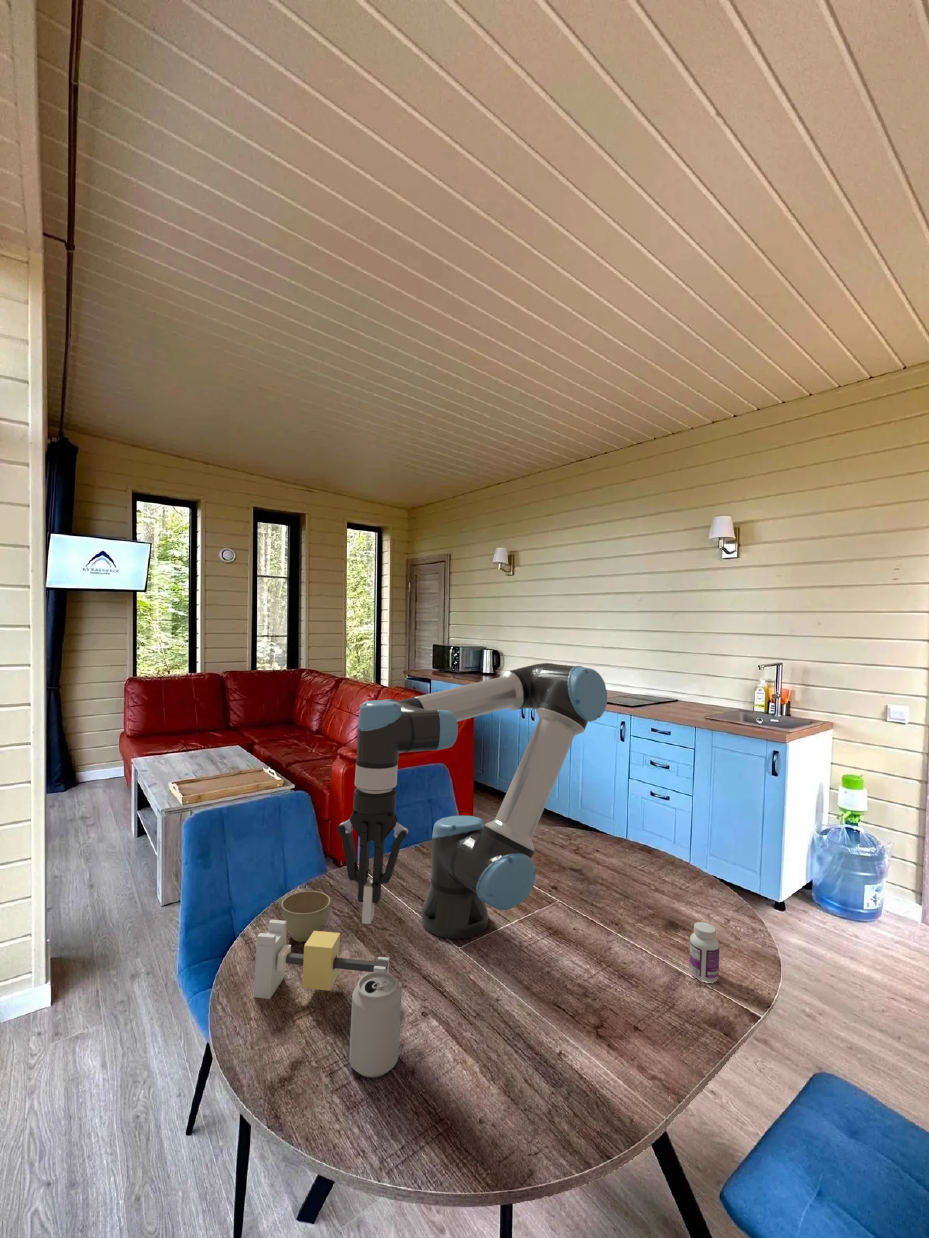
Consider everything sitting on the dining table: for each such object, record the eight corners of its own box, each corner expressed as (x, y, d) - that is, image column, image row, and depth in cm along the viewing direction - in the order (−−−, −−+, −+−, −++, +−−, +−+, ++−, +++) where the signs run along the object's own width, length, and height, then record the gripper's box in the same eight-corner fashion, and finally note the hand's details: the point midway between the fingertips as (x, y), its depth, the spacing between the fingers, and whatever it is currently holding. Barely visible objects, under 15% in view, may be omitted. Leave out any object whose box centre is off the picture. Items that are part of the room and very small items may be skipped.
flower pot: (315, 952, 110) (317, 916, 110) (270, 944, 112) (272, 909, 112) (336, 926, 120) (338, 893, 120) (294, 919, 122) (296, 887, 122)
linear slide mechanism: (389, 987, 100) (391, 929, 101) (381, 1010, 94) (384, 948, 95) (268, 975, 102) (271, 918, 103) (253, 997, 96) (256, 936, 97)
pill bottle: (716, 971, 110) (718, 923, 110) (719, 987, 105) (721, 936, 105) (687, 964, 112) (689, 917, 112) (689, 980, 107) (691, 930, 107)
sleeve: (338, 973, 101) (340, 932, 101) (329, 990, 96) (331, 947, 96) (312, 970, 101) (314, 930, 101) (302, 987, 96) (304, 945, 96)
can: (352, 1043, 87) (355, 967, 87) (399, 1042, 87) (402, 966, 88) (345, 1082, 79) (349, 999, 80) (397, 1081, 80) (401, 998, 80)
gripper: (414, 784, 102) (407, 912, 101) (346, 779, 103) (339, 905, 102) (407, 796, 94) (399, 934, 93) (333, 790, 95) (325, 927, 95)
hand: (367, 919), depth 98 cm, fingers closed
